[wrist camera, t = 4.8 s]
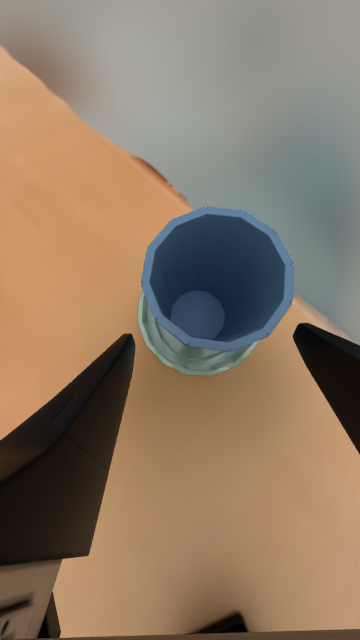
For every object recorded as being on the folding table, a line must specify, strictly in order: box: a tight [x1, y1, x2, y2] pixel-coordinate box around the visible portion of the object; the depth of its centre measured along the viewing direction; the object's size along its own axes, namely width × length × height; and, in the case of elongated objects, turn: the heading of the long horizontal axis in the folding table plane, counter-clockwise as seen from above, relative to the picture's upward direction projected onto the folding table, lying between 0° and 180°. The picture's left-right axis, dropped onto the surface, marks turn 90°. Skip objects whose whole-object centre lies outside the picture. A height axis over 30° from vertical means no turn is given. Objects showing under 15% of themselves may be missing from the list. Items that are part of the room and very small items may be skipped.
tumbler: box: [141, 207, 294, 352], centre depth 13 cm, size 7×7×12 cm
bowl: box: [138, 291, 258, 375], centre depth 17 cm, size 11×11×4 cm
